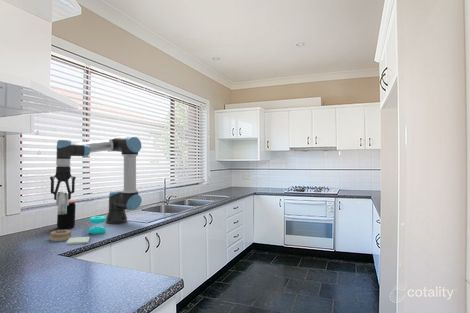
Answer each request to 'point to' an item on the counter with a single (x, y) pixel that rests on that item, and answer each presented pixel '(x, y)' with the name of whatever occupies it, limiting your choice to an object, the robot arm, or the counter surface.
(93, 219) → the donuts
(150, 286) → the counter surface
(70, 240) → the board
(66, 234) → the collar
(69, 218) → the coffee jar
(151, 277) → the counter surface
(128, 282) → the counter surface
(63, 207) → the plug
